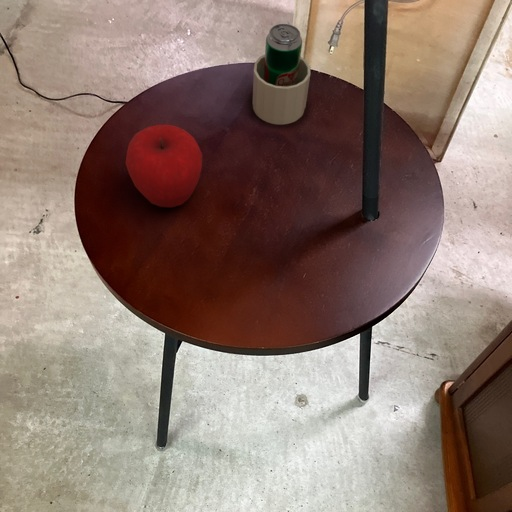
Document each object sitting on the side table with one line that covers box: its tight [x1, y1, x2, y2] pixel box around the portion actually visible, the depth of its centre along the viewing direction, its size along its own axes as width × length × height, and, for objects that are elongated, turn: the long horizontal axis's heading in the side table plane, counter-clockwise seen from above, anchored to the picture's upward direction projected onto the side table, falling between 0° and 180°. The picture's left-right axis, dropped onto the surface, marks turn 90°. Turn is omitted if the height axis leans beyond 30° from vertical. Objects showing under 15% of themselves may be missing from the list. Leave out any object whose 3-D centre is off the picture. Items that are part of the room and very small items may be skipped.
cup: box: [252, 53, 311, 126], centre depth 83 cm, size 8×8×7 cm
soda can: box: [264, 23, 303, 87], centre depth 80 cm, size 5×5×12 cm
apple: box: [125, 124, 203, 208], centre depth 71 cm, size 10×10×11 cm
